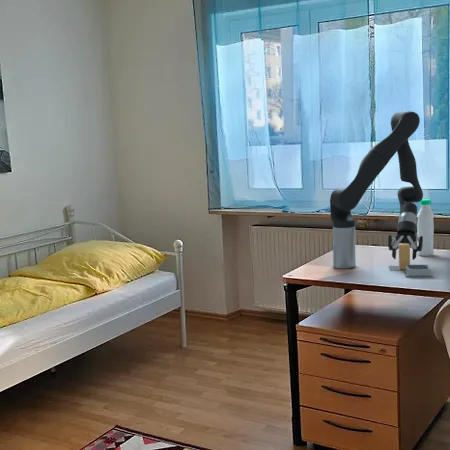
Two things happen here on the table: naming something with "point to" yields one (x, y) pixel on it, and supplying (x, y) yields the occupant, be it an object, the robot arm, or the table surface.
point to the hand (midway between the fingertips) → (403, 258)
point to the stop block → (404, 255)
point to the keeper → (417, 271)
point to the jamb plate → (395, 268)
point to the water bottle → (425, 228)
